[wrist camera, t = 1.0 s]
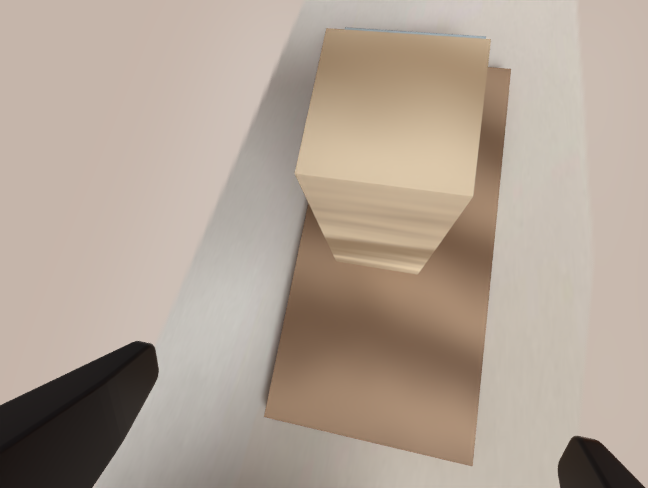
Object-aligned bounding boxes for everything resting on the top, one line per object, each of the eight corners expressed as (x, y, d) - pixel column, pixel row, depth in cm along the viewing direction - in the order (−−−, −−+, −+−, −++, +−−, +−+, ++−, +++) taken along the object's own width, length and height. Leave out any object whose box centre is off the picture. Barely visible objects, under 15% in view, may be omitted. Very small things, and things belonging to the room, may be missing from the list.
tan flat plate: (467, 459, 19) (472, 466, 19) (268, 413, 21) (264, 416, 20) (505, 79, 24) (510, 69, 23) (340, 66, 26) (338, 55, 25)
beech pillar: (417, 274, 21) (473, 196, 9) (336, 261, 22) (294, 173, 10) (428, 197, 22) (490, 39, 10) (349, 186, 23) (326, 27, 11)
